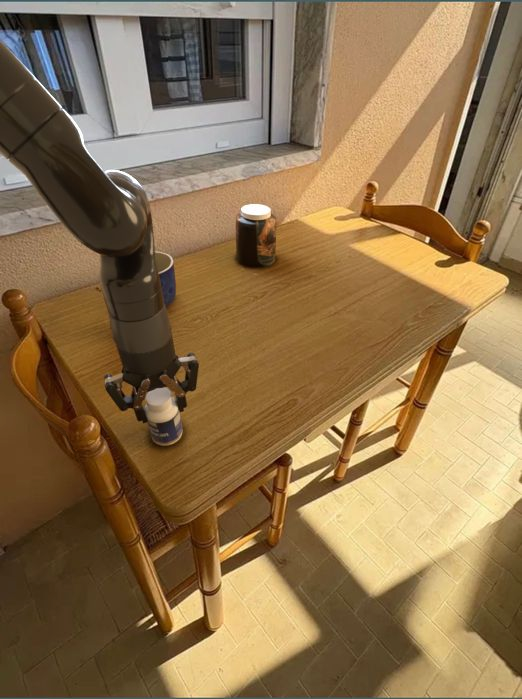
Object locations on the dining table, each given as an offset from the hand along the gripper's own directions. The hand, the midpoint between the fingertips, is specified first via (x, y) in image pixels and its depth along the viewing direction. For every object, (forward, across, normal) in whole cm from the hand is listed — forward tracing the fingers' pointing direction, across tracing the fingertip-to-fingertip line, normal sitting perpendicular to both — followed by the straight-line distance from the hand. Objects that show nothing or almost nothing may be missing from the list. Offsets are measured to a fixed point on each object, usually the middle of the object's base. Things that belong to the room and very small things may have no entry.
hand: (162, 413), depth 63 cm
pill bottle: (+6, 0, 0) cm, 6 cm away
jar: (+6, -39, -54) cm, 67 cm away
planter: (+6, -6, -42) cm, 43 cm away
